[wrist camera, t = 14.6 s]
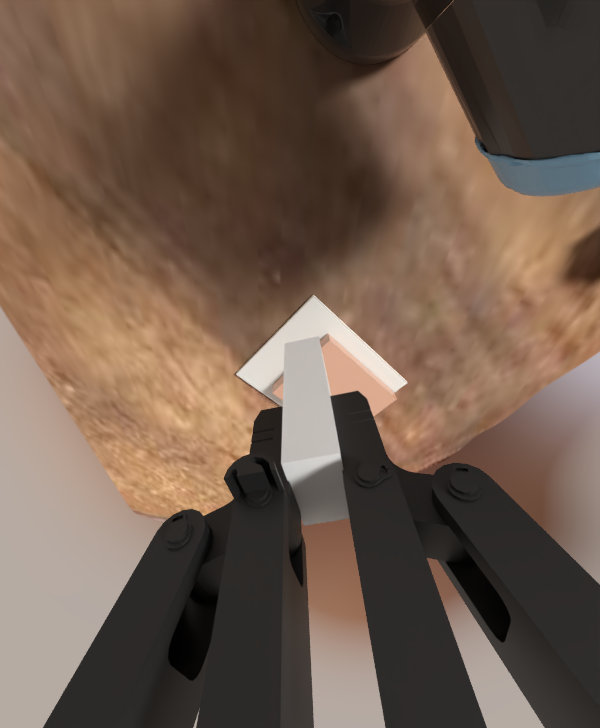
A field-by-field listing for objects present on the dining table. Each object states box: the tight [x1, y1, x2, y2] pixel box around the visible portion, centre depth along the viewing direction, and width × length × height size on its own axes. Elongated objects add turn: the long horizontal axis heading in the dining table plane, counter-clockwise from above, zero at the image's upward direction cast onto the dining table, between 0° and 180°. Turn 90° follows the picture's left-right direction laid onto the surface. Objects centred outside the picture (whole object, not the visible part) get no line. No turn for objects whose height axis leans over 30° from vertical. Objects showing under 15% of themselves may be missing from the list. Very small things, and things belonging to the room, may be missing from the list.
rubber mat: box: [236, 295, 407, 407], centre depth 49 cm, size 21×17×1 cm
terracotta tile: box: [272, 334, 397, 416], centre depth 49 cm, size 12×2×15 cm
